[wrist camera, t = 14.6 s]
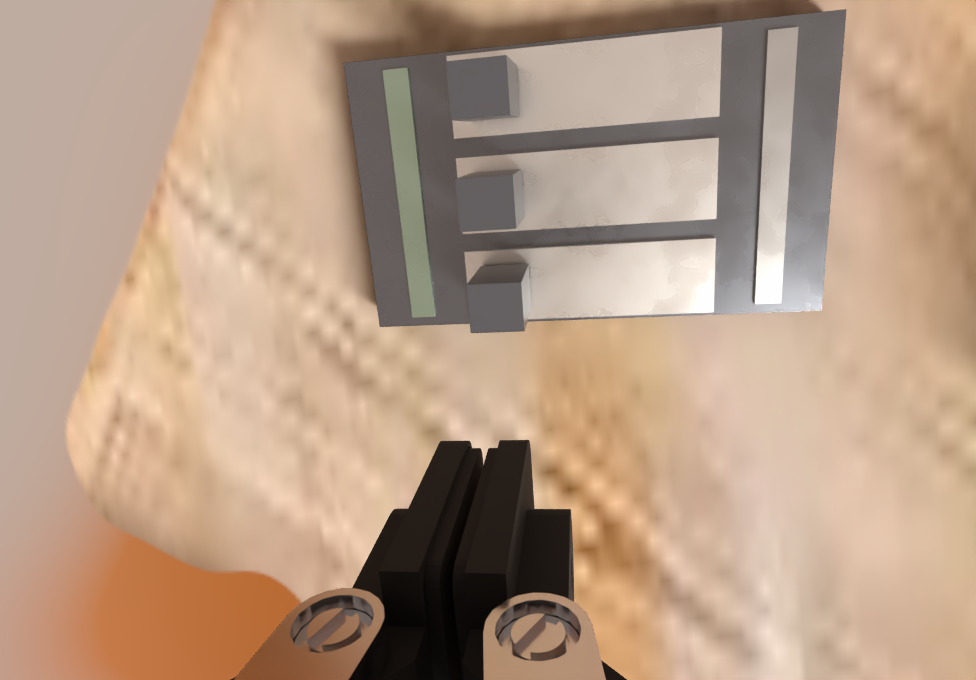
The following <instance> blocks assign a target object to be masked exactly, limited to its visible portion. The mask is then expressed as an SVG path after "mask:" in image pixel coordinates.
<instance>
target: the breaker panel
mask: <svg viewBox="0 0 976 680" xmlns="http://www.w3.org/2000/svg"><path fill="white" fill-rule="evenodd" d="M845 20H846V9H845V10H836V11H826V12H817V13H808V14H798V15H789V16H780V17H770V18H761V19H752V20H742V21H733V22H724V23H714V24H705V25H696V26H686V27H677V28H667V29H658V30H649V31H639V32H630V33H621V34H611V35H602V36H593V37H583V38H574V39H565V40H555V41H546V42H537V43H527V44H518V45H509V46H499V47H490V48H480V49H471V50H462V51H452V52H443V53H434V54H424V55H415V56H406V57H396V58H387V59H378V60H368V61H359V62H350V63H344V69H345V77H346V84H347V91H348V99H349V106H350V113H351V120H352V128H353V135H354V142H355V150H356V157H357V164H358V171H359V179H360V186H361V193H362V200H363V208H364V215H365V222H366V230H367V237H368V244H369V251H370V259H371V266H372V273H373V280H374V288H375V295H376V302H377V310H378V317H379V324H380V327H391V326H418V325H445V324H470V318H469V308H468V297H467V286H466V285H467V284H468V282H469V281H470V280H471V278H472V277H473V276H474V274H475V273H476V272H477V270H478V269H479V268H480V266H498V265H518V264H529V276H530V292H531V311H530V314H529V317H528V321H553V320H580V319H607V318H634V317H662V316H689V315H716V314H743V313H770V312H797V311H822V299H823V286H824V274H825V262H826V250H827V238H828V226H829V214H830V202H831V189H832V177H833V165H834V153H835V141H836V129H837V117H838V105H839V92H840V80H841V68H842V56H843V44H844V32H845ZM501 55H507V56H508V57H509V58H510V59H511V60H512V61H513V62H514V63H515V64H516V65H517V80H518V96H519V112H520V117H515V118H503V119H492V120H481V121H470V122H467V121H453V120H451V112H450V102H449V91H448V80H447V69H446V61H454V60H463V59H473V58H482V57H492V56H501ZM517 169H522V183H523V199H524V215H525V217H524V218H523V220H522V221H521V223H520V224H519V226H518V227H517V228H516V229H505V230H489V231H472V232H460V225H459V215H458V204H457V193H456V182H455V179H457V178H459V177H462V176H464V175H467V174H470V173H477V172H490V171H503V170H517Z"/></svg>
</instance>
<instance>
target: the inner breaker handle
mask: <svg viewBox="0 0 976 680" xmlns="http://www.w3.org/2000/svg"><path fill="white" fill-rule="evenodd" d="M466 286H467V297H468V308H469V318H470V329H471V333H489V332H518V331H525V328H526V324H527V321H528V317H529V314H530V311H531V292H530V276H529V264H518V265H498V266H480V268H479V269H478V270H477V272H476V273H475V274H474V276H473V277H472V278H471V280H470V281H469V282H468V284H467V285H466Z"/></svg>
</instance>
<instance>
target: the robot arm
mask: <svg viewBox="0 0 976 680" xmlns="http://www.w3.org/2000/svg"><path fill="white" fill-rule="evenodd" d="M231 680H627V679H625V678H624V677H623V676H621V675H620V674H619V673H617V672H616V671H615V670H613V669H612V668H611V667H609V666H608V665H607V664H605V663H604V662H603V661H602V660H601V658H600V654H599V650H598V645H597V641H596V637H595V633H594V629H593V625H592V623H591V621H590V619H589V617H588V614H587V613H586V612H585V611H584V610H583V609H582V608H581V607H580V606H579V605H578V604H577V603H575V602H574V569H573V542H572V521H571V509H534V496H533V480H532V464H531V449H530V442H529V440H500V442H499V445H498V448H489V449H488V452H487V455H486V459H485V462H484V465H483V457H482V451H481V448H472V446H471V443H470V441H441V442H440V443H439V445H438V447H437V449H436V451H435V454H434V456H433V458H432V460H431V462H430V464H429V466H428V468H427V470H426V473H425V475H424V477H423V479H422V481H421V483H420V485H419V487H418V489H417V492H416V494H415V496H414V498H413V500H412V502H411V504H410V506H409V509H394V510H393V511H392V513H391V514H390V516H389V518H388V520H387V522H386V524H385V526H384V528H383V529H382V531H381V533H380V535H379V537H378V539H377V541H376V543H375V545H374V547H373V549H372V551H371V553H370V555H369V557H368V559H367V561H366V562H365V564H364V566H363V568H362V570H361V572H360V574H359V576H358V578H357V580H356V582H355V584H354V586H353V588H341V589H336V590H330V591H326V592H323V593H321V594H318V595H315V596H313V597H311V598H309V599H307V600H306V601H304V602H303V603H301V604H299V605H298V606H297V607H296V608H295V609H294V610H292V611H291V612H290V613H289V614H288V615H287V616H286V618H285V619H284V620H283V621H282V623H281V624H280V625H279V626H278V627H277V628H276V630H275V631H274V632H273V633H272V634H271V636H270V637H269V638H268V639H267V640H266V642H265V643H264V644H263V645H262V646H261V648H260V649H259V650H258V651H257V652H256V654H255V655H254V656H253V657H252V658H251V659H250V661H249V662H248V663H247V664H246V665H245V667H244V668H243V669H242V670H241V671H240V673H239V674H238V675H237V676H236V677H235V678H233V679H231Z"/></svg>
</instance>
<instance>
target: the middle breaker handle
mask: <svg viewBox="0 0 976 680" xmlns="http://www.w3.org/2000/svg"><path fill="white" fill-rule="evenodd" d="M455 182H456V193H457V204H458V215H459V225H460V232H472V231H489V230H505V229H516V228H517V227H518V226H519V224H520V223H521V221H522V220H523V218H524V217H525V215H524V199H523V183H522V169H517V170H503V171H490V172H477V173H470V174H467V175H464V176H462V177H459V178H457V179H455Z"/></svg>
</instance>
